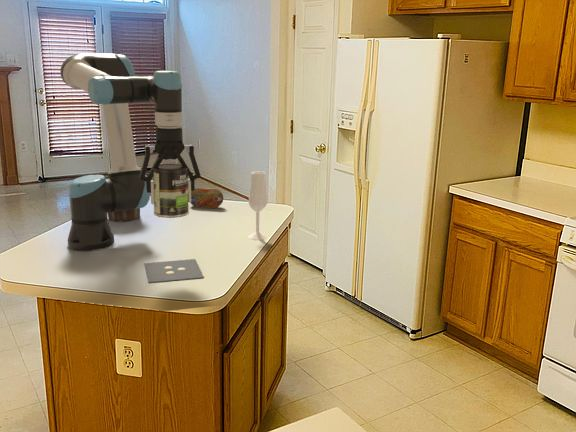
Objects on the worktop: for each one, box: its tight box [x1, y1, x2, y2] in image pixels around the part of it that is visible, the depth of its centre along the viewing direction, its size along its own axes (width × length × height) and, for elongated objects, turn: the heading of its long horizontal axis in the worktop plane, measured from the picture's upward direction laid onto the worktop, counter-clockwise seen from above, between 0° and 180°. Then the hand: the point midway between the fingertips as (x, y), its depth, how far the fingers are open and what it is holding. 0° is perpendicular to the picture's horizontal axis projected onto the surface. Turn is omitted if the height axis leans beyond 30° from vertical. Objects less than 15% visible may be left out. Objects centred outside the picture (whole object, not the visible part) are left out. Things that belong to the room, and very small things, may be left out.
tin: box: [190, 187, 224, 209], centre depth 248 cm, size 15×3×8 cm, turn 81°
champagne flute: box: [248, 170, 268, 241], centre depth 206 cm, size 7×7×24 cm
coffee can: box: [151, 163, 190, 219], centre depth 168 cm, size 10×10×14 cm
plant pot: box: [104, 175, 141, 223], centre depth 227 cm, size 16×16×16 cm
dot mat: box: [144, 258, 205, 284], centre depth 175 cm, size 16×16×1 cm
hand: (171, 202), depth 169 cm, fingers closed on coffee can, 10 cm apart
